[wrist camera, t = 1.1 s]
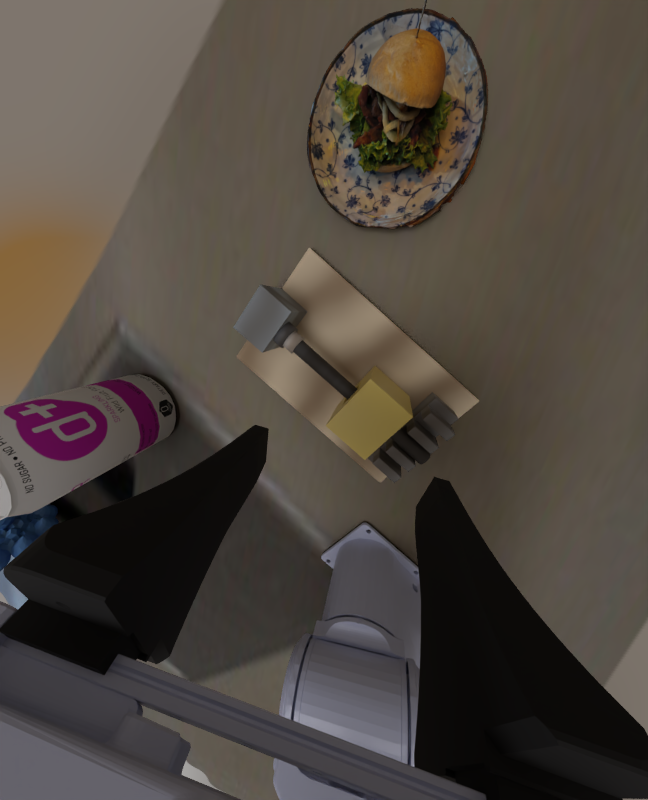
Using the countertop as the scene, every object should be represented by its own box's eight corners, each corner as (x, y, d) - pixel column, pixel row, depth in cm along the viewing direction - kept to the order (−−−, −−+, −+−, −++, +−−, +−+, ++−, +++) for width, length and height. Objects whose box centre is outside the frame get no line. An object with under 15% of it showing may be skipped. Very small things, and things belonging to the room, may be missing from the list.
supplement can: (145, 358, 31) (-60, 398, 17) (193, 416, 32) (36, 500, 18) (110, 397, 34) (-89, 458, 20) (154, 449, 34) (-6, 542, 21)
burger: (285, 138, 21) (233, 57, 15) (422, -22, 17) (440, -245, 10) (370, 270, 23) (359, 252, 16) (516, 152, 19) (588, 58, 12)
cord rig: (476, 398, 24) (497, 419, 19) (380, 478, 28) (377, 511, 24) (311, 249, 23) (291, 234, 19) (240, 355, 28) (209, 364, 23)
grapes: (78, 492, 41) (-39, 560, 30) (87, 528, 43) (-19, 603, 32) (19, 475, 43) (-110, 533, 32) (30, 510, 45) (-87, 575, 34)
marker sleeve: (409, 396, 24) (413, 416, 19) (369, 433, 26) (364, 460, 21) (374, 365, 24) (370, 378, 19) (337, 404, 26) (325, 425, 21)
